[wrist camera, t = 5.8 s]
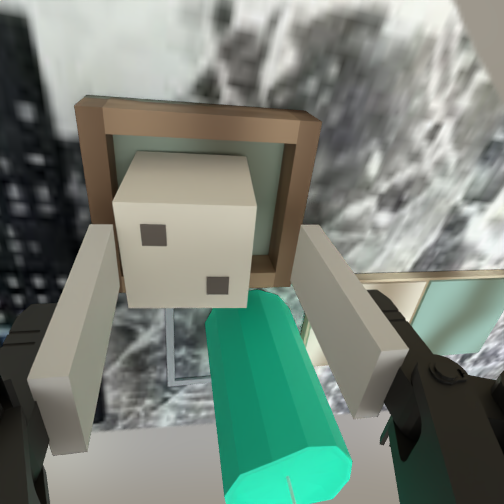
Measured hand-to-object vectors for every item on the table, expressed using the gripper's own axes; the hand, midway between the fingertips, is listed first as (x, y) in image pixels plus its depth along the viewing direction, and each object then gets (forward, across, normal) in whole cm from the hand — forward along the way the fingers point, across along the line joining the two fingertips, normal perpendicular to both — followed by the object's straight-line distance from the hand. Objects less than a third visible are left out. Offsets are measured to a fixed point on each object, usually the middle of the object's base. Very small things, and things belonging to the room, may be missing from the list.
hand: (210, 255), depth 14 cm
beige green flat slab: (+6, +16, -10) cm, 19 cm away
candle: (+6, +4, -10) cm, 12 cm away
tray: (+6, 0, 0) cm, 6 cm away
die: (+5, 0, 0) cm, 5 cm away
